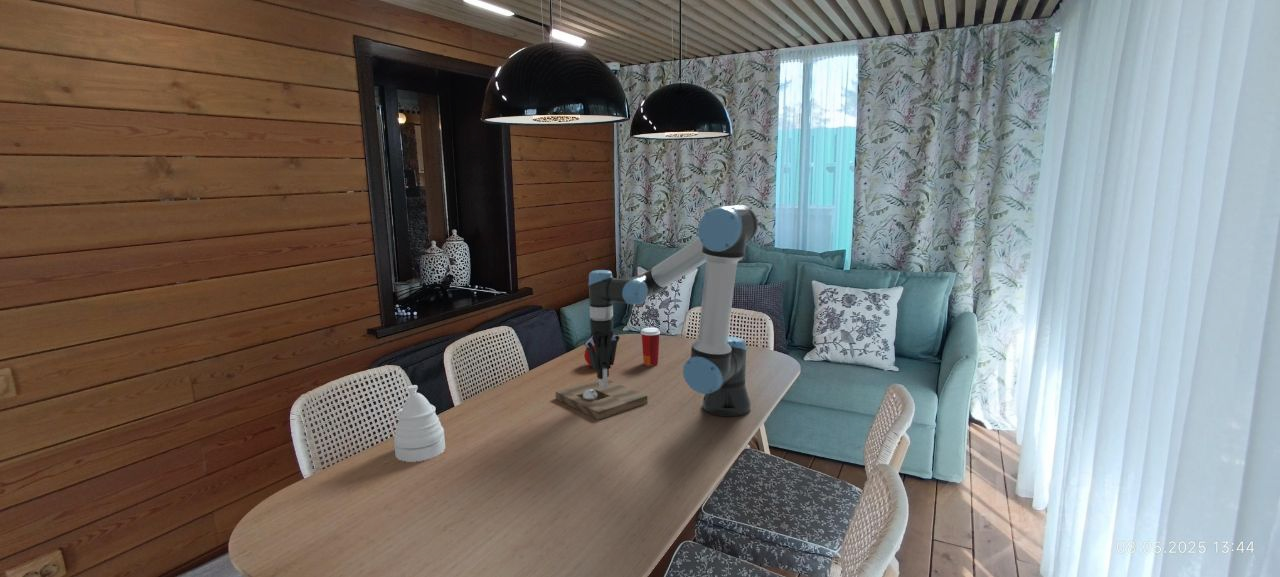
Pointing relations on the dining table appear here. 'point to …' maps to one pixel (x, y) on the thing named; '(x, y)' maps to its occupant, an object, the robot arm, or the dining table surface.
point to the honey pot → (418, 429)
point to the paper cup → (650, 345)
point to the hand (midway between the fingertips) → (603, 387)
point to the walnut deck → (602, 398)
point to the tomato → (588, 355)
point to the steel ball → (590, 395)
